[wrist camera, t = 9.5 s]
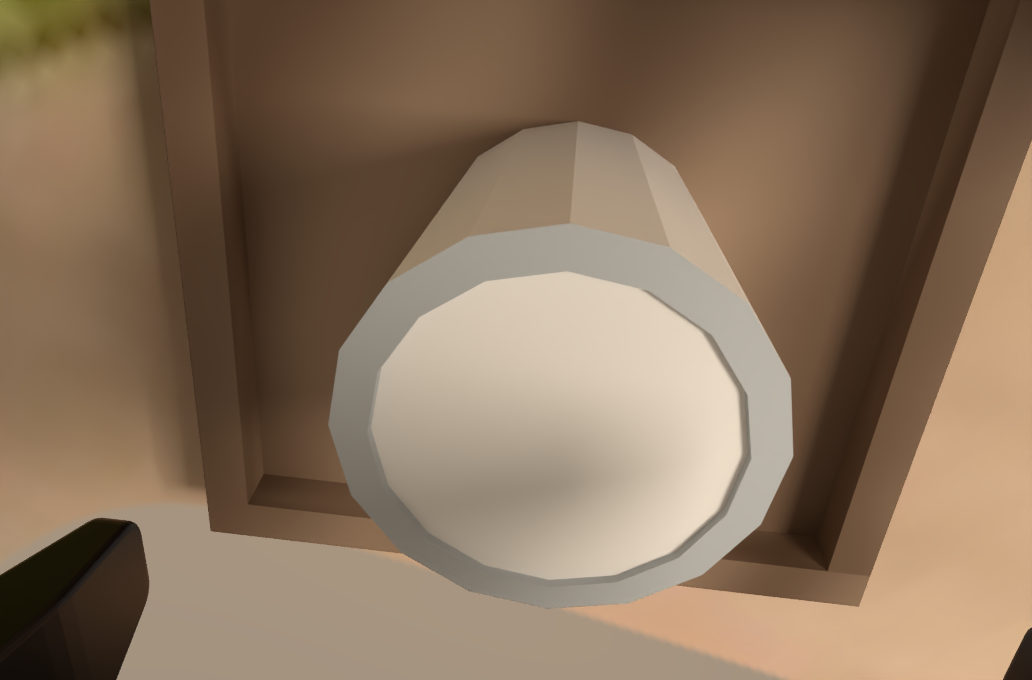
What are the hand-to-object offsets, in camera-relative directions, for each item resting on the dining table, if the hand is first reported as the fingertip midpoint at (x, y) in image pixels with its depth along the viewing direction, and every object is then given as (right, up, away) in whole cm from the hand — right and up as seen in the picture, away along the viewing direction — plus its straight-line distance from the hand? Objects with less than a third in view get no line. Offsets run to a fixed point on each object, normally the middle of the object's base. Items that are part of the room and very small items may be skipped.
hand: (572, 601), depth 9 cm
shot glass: (+1, +5, +10) cm, 11 cm away
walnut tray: (+1, +5, +11) cm, 12 cm away
